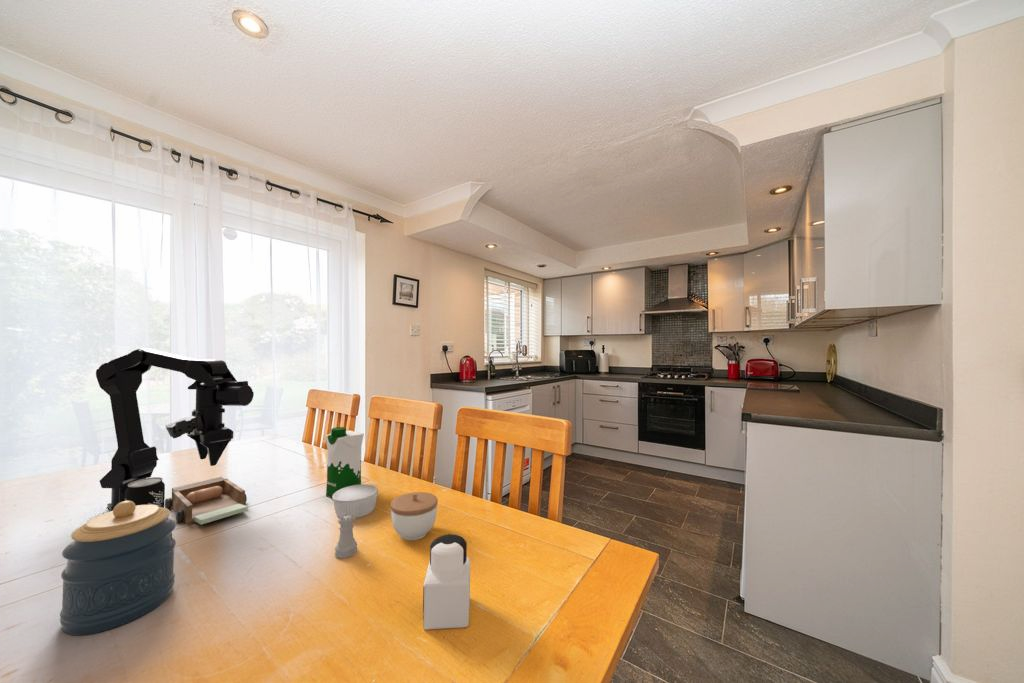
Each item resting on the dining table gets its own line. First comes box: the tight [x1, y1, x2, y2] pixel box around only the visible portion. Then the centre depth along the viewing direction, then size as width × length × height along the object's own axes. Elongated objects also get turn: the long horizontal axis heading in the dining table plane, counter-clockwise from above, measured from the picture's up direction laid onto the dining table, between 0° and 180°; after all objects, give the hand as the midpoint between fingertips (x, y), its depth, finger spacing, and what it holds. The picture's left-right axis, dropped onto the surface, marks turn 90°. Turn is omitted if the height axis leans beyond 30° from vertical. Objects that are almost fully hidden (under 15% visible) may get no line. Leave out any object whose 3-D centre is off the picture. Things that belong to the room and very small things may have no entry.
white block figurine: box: [422, 533, 471, 631], centre depth 60 cm, size 7×7×12 cm
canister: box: [59, 501, 177, 636], centre depth 60 cm, size 13×13×18 cm
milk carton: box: [325, 426, 365, 498], centre depth 107 cm, size 9×9×20 cm
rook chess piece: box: [334, 513, 358, 560], centre depth 76 cm, size 4×4×8 cm
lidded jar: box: [390, 491, 438, 541], centre depth 85 cm, size 11×11×9 cm
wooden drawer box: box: [164, 476, 248, 525], centre depth 98 cm, size 18×14×4 cm
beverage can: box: [125, 476, 166, 508], centre depth 84 cm, size 7×7×12 cm
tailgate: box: [194, 503, 249, 526], centre depth 91 cm, size 1×9×6 cm
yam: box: [186, 486, 223, 504], centre depth 99 cm, size 3×8×3 cm, turn 144°
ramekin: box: [331, 483, 379, 519], centre depth 96 cm, size 11×11×5 cm
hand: (207, 462), depth 98 cm, fingers open, 9 cm apart
